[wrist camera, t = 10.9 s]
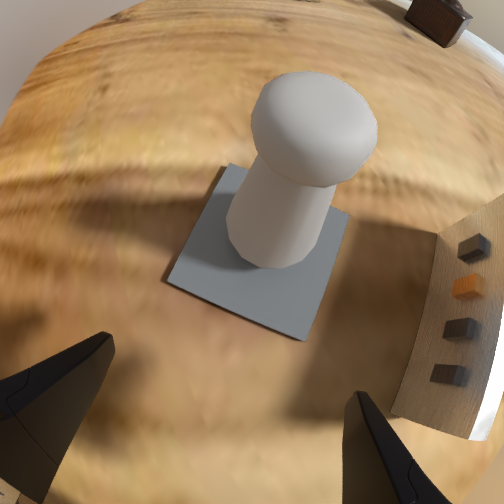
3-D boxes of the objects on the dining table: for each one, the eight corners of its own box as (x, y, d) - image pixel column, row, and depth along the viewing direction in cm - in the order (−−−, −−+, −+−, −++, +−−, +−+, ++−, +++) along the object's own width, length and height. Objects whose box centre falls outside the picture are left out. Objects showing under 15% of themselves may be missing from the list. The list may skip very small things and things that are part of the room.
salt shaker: (221, 202, 21) (221, 47, 8) (298, 194, 21) (366, 55, 9) (233, 283, 19) (248, 186, 7) (316, 270, 20) (432, 176, 8)
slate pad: (303, 341, 19) (305, 341, 19) (168, 282, 19) (166, 280, 19) (346, 217, 22) (349, 214, 21) (229, 166, 22) (229, 162, 22)
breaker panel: (407, 416, 18) (485, 440, 9) (381, 410, 18) (460, 439, 9) (452, 242, 22) (519, 205, 14) (431, 229, 23) (499, 186, 14)
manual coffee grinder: (416, 14, 39) (444, -39, 22) (456, 44, 38) (490, -8, 20) (389, 17, 35) (420, -51, 18) (437, 52, 34) (479, -14, 16)
